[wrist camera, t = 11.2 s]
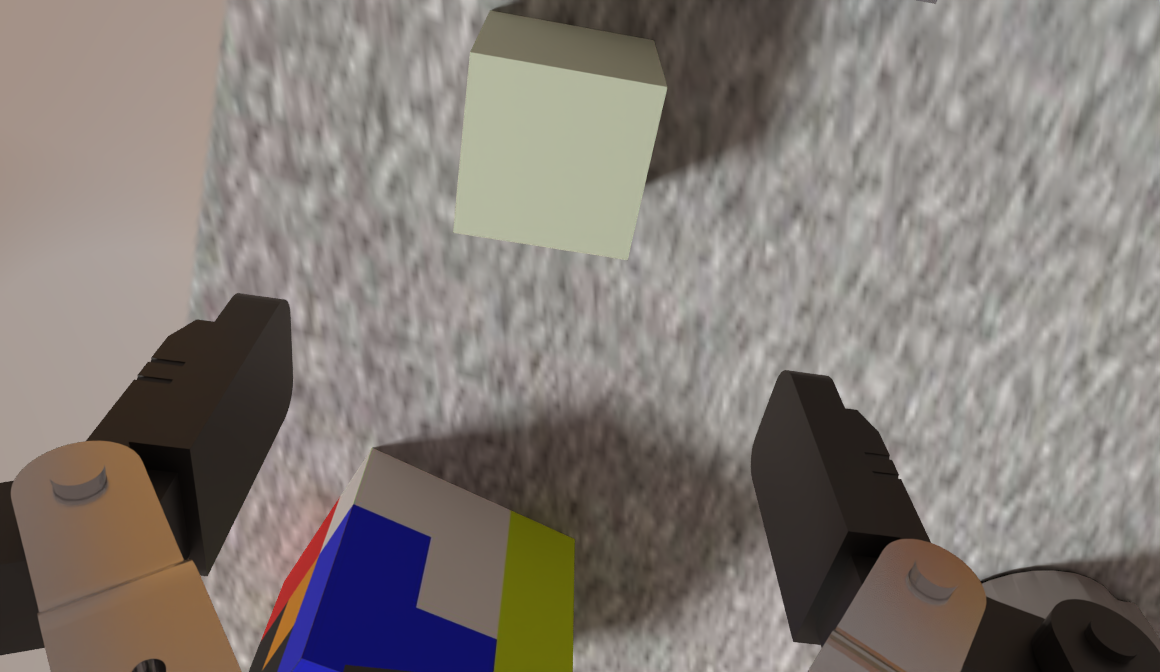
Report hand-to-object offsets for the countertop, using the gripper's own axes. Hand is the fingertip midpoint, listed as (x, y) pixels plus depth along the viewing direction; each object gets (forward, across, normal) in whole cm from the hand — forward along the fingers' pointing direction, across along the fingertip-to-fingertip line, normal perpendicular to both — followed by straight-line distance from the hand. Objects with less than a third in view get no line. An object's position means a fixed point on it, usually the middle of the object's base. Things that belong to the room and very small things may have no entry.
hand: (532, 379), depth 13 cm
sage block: (+15, 0, 0) cm, 15 cm away
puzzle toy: (+15, +3, +22) cm, 27 cm away
